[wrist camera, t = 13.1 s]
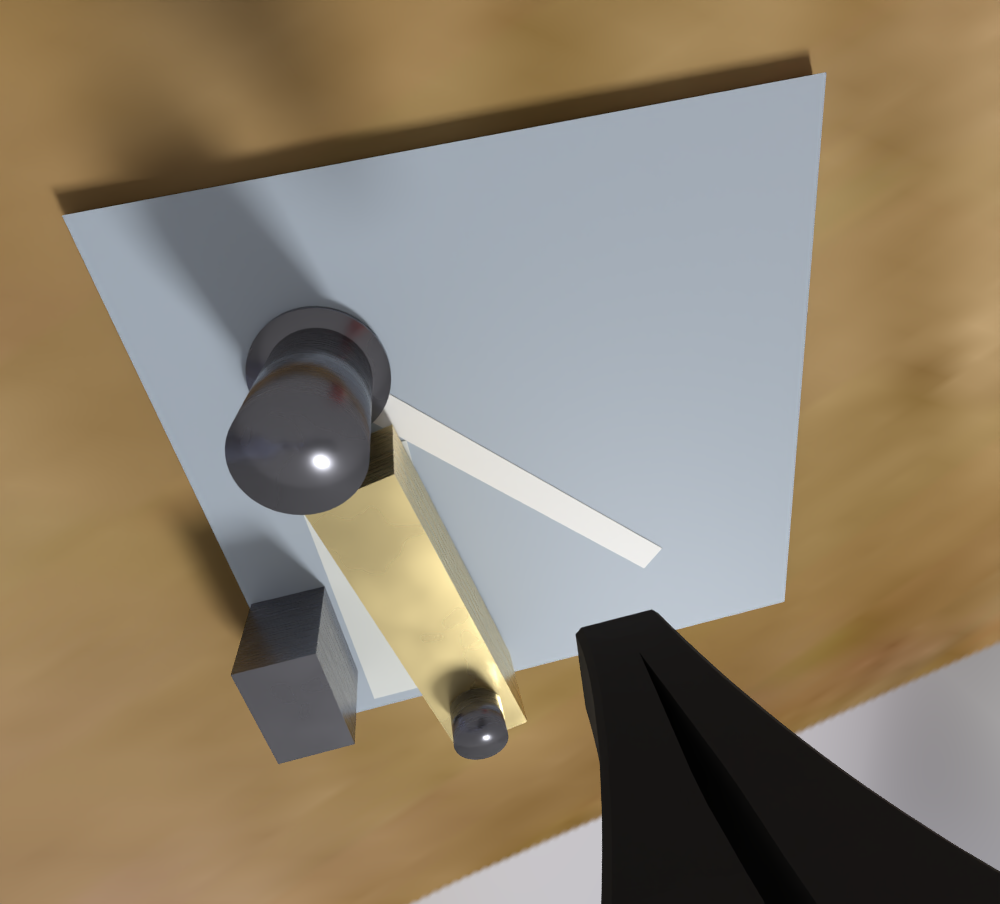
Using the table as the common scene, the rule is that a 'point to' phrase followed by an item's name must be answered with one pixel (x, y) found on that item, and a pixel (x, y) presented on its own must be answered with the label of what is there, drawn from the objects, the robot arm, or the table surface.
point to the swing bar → (424, 599)
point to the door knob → (308, 410)
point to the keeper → (298, 675)
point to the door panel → (515, 353)
